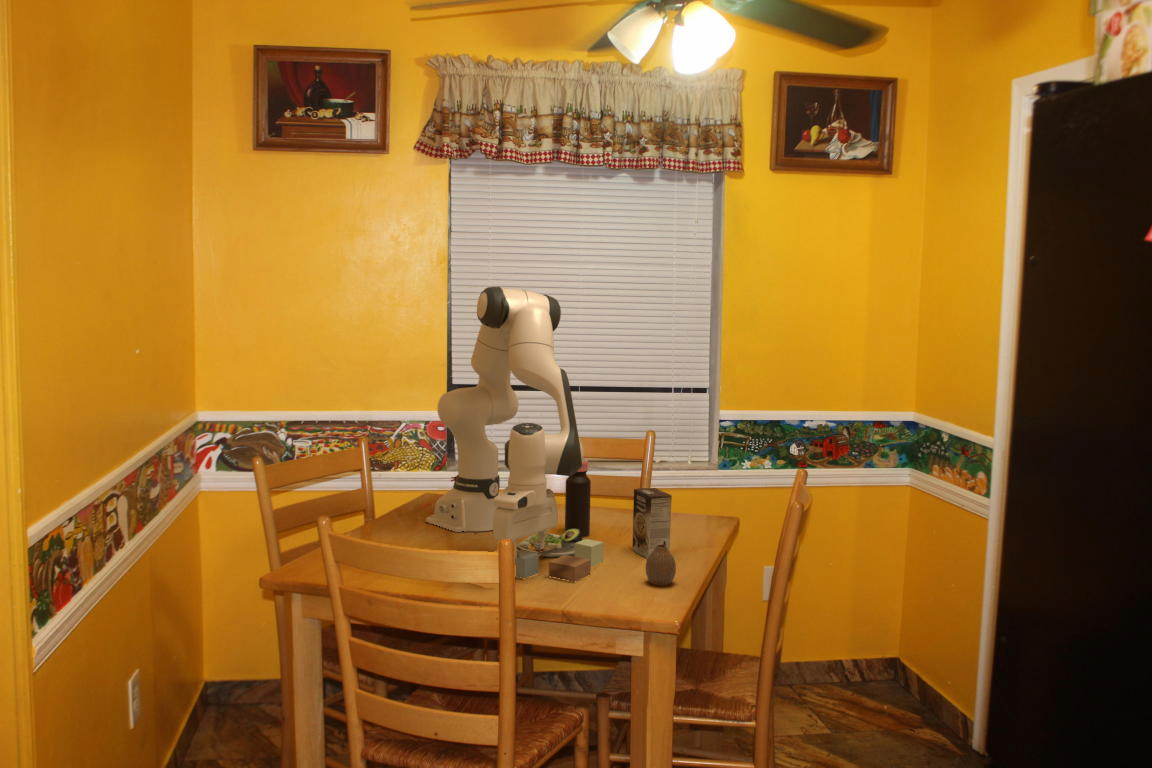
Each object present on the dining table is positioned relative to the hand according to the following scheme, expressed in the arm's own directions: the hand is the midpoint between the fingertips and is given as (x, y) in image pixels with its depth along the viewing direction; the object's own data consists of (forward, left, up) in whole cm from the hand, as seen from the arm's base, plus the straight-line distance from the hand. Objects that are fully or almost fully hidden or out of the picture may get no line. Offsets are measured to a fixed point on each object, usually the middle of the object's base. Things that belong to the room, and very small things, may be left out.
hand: (527, 553), depth 216 cm
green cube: (+5, +18, -5) cm, 19 cm away
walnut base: (+8, +6, -6) cm, 11 cm away
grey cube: (-1, 0, -5) cm, 5 cm away
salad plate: (-9, +23, -6) cm, 25 cm away
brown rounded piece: (+27, +15, -5) cm, 31 cm away
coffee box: (+13, +34, -5) cm, 37 cm away
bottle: (-12, +37, -5) cm, 39 cm away
